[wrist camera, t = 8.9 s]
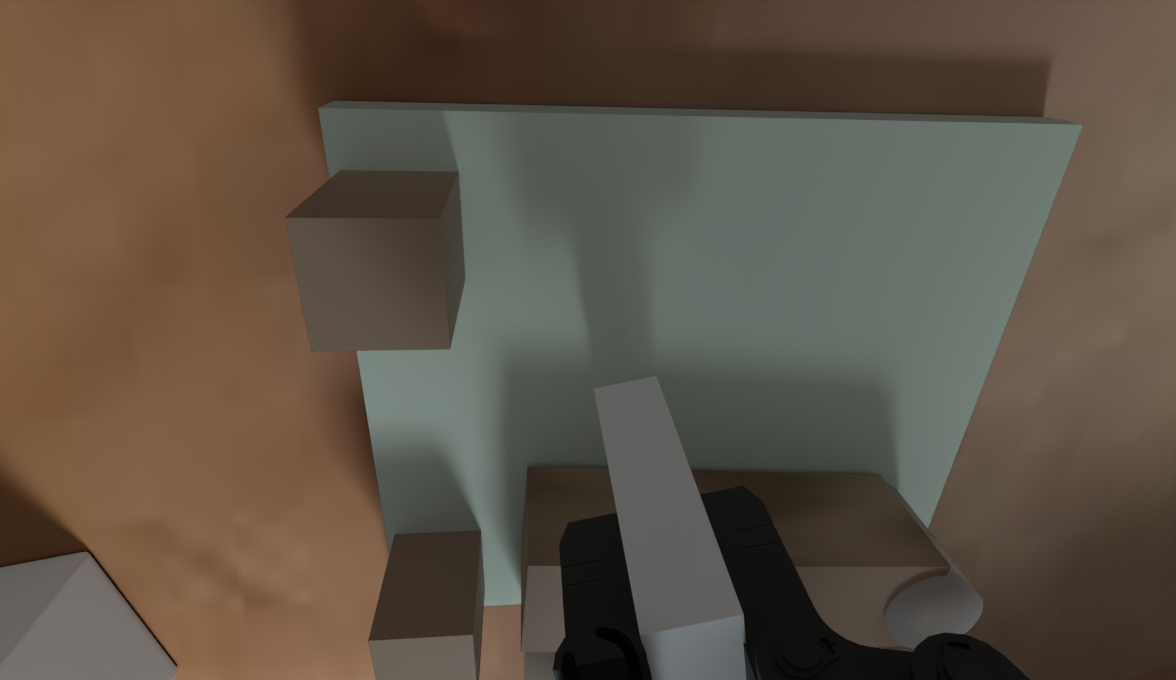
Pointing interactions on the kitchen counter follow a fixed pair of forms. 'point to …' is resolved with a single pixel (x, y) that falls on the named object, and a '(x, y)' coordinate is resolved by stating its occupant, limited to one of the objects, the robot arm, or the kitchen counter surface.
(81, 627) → the milk
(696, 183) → the stool seat
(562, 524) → the hinged leg
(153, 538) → the kitchen counter surface
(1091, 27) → the kitchen counter surface
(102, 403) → the kitchen counter surface
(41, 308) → the kitchen counter surface
